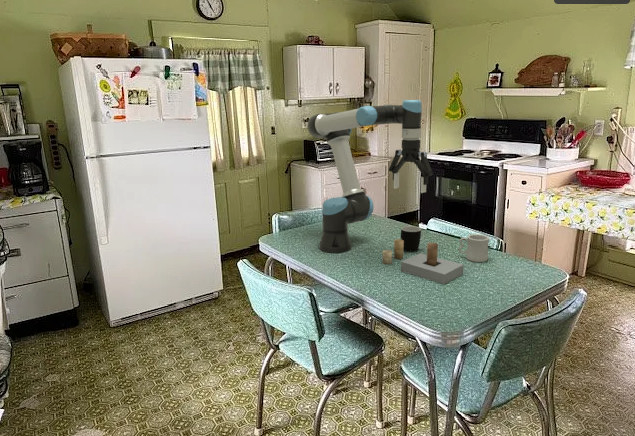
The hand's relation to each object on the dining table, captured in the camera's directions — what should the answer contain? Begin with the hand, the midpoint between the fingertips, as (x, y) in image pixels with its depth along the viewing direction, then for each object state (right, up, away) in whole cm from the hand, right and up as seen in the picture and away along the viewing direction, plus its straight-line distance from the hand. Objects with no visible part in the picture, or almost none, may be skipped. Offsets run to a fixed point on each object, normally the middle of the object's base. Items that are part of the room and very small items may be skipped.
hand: (409, 190), depth 192 cm
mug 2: (+29, -29, +7) cm, 42 cm away
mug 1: (+4, -26, +22) cm, 34 cm away
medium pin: (-3, -29, +10) cm, 31 cm away
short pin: (-9, -31, +5) cm, 32 cm away
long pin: (+7, -34, -7) cm, 35 cm away
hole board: (+7, -34, -7) cm, 35 cm away
